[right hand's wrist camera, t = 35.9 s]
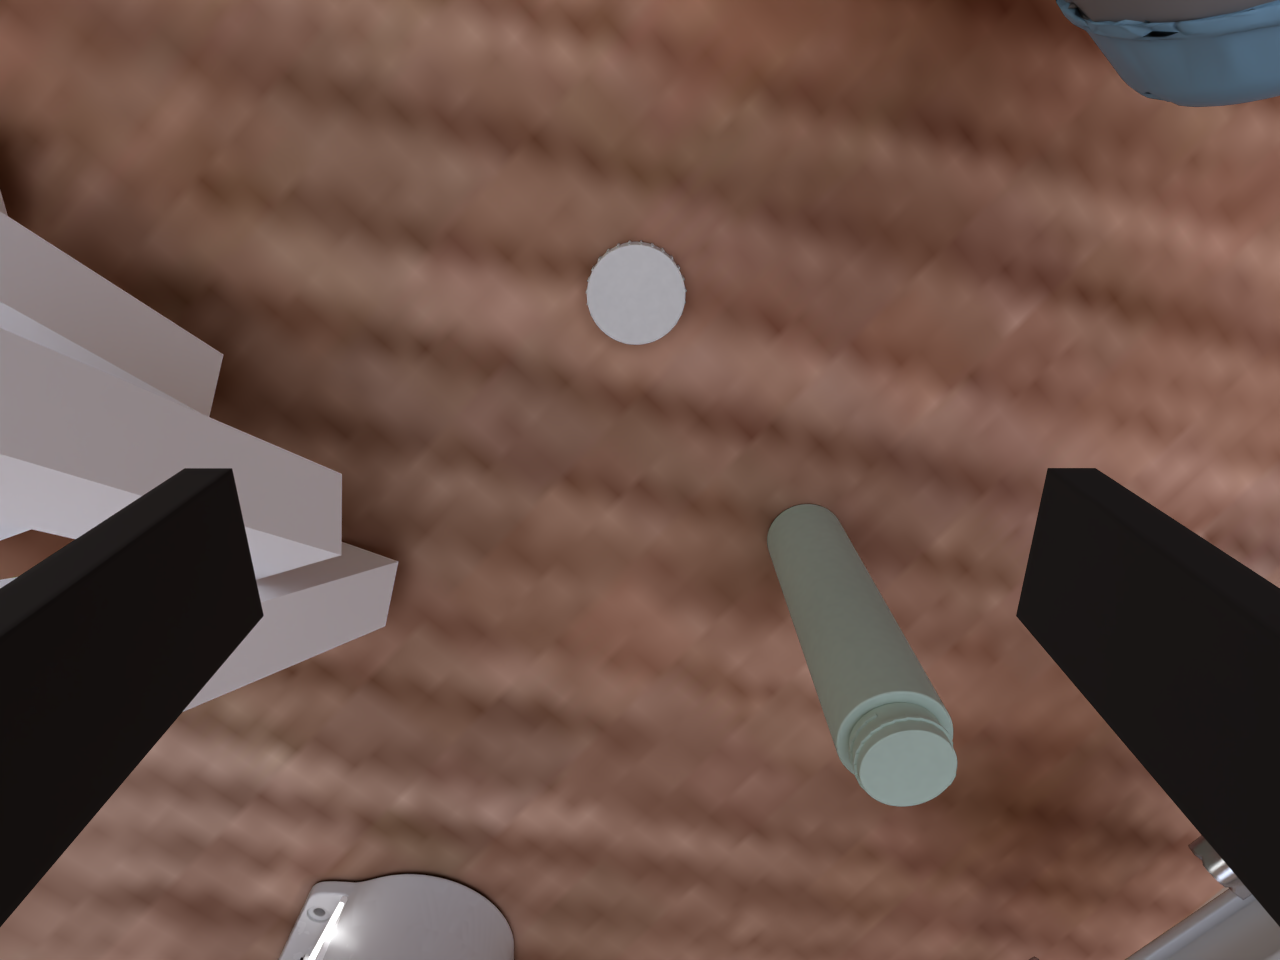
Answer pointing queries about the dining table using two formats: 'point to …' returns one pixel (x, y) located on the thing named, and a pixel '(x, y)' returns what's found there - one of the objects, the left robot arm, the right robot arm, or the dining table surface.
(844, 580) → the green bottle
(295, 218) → the dining table surface
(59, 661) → the right robot arm
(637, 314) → the lid
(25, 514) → the pile of blocks
